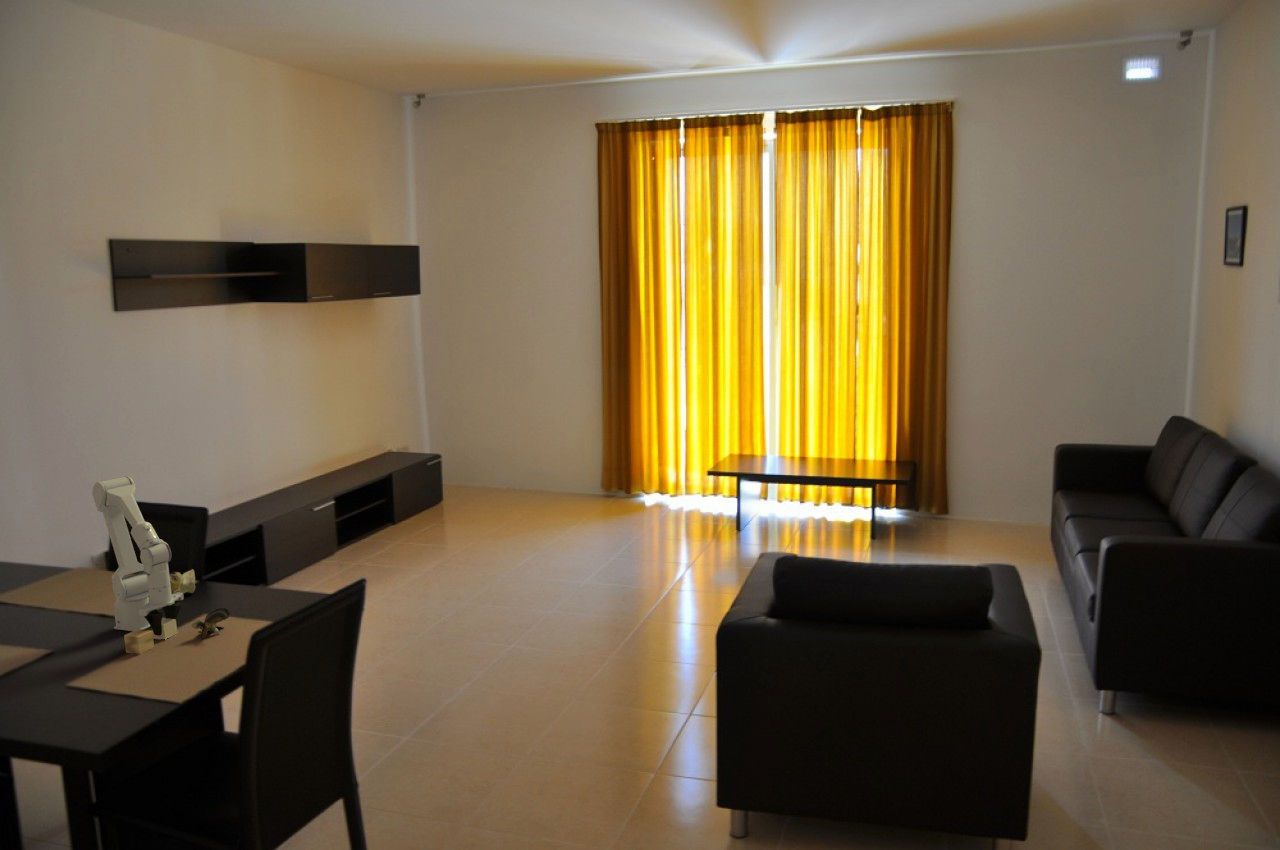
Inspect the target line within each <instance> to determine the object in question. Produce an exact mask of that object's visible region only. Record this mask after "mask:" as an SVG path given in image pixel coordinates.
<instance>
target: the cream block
mask: <svg viewBox="0 0 1280 850" xmlns="http://www.w3.org/2000/svg"><path fill="white" fill-rule="evenodd" d="M161 626H162V634H161V635H160V636H158V635H154V633H153V640H154V639H155V640H161V639H165V640H164V641H166V639H167V638H169V637H171V636H173V635H175V634H177V635H178V626H177V620H176V619H168V618H166V617H162V621H161ZM151 631H152V632H153V630H152V629H151ZM175 636H176V635H175ZM173 637H174V636H173ZM171 638H172V637H171ZM169 639H170V638H169ZM167 640H168V639H167Z"/></svg>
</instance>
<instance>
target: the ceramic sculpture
mask: <svg viewBox="0 0 1280 850" xmlns="http://www.w3.org/2000/svg"><path fill="white" fill-rule="evenodd" d="M169 576H170V585H171V594H175V593H177V592H180V593H183V595H185V594H193V593H194V592H195V591H196V585H195V584H196V575H195V570H194V569H193V568H192V569H190V570H188V571H186V572H183V574H181V572H179V571H171V573H170V574H169Z"/></svg>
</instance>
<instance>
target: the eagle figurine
mask: <svg viewBox="0 0 1280 850" xmlns="http://www.w3.org/2000/svg"><path fill="white" fill-rule="evenodd" d="M230 615H231V612H230V610H229V609H228V608H226V607H218V608H215V609H214V610H212V611H211V612H209V613H207V614H206V616H205V618H204V621H201V620H199V619H198V620H196V621H194V622H192V623H191V627H192V628H193V629H195V630H197V629H200V631H197V633H201V634H202V637H201V639H202V640H204V639H206V637H207V635H208V631H209V632H213V633H216V634H218V633H220V630H219V629H218V627H221V628H222V629H224V628H223V627H224V626H220V625H219V624H218V623H220V622H222V621H225V620H227V619H228V618H229V617H230ZM221 628H220V629H221ZM203 638H204V639H203Z"/></svg>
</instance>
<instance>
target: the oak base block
mask: <svg viewBox="0 0 1280 850" xmlns="http://www.w3.org/2000/svg"><path fill="white" fill-rule="evenodd" d="M123 638H124V646H125V652H126V654H133V653H137V654H136V655H142V654H144V653H146V652H148V651H147V650H149V649H151V650H153V649H154V648H155V643H154V642H155V641H154V639H153V632H152V630H150V629H149V630H147V629H144V630H142V629H137V630H135V631H130V632H129V633H126V634H124V635H123ZM153 647H154V648H153ZM152 648H153V649H152ZM145 651H146V652H145ZM149 651H150V650H149ZM143 652H144V653H143ZM141 653H142V654H141Z"/></svg>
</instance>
